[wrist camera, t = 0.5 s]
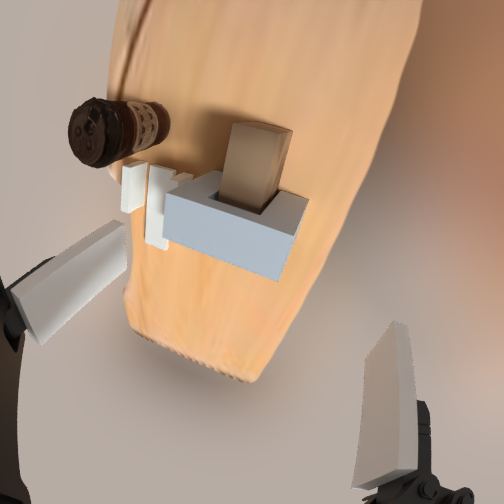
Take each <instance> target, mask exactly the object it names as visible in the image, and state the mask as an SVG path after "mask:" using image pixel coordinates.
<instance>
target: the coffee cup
mask: <svg viewBox="0 0 504 504" xmlns="http://www.w3.org/2000/svg"><path fill="white" fill-rule="evenodd" d="M169 129H170V118H169V115H168V112H167V110H166V109H165V108H164V107H163V106H162V105H161V104H158V103H157V102H152V103H145V104H142V103H138V102H134V101H127V102H125V101H108V100H104V99H96V98H95V97H93V98H91V99H89V100H88V101H86V102H84V103H83V104H82V105H81V106H79V107H78V108H77V109H75V110H74V111H73V113H72V116H71V118H70V122H69V126H68V138H69V144H70V146H71V149H72V151H73V153H74V155H75V156H76V157H77V158H78V159H79V160H80V161H81V162H82V163H83V164H86V165H88V166H91V167H95V168H102V167H106V166H108V165H109V164H111V163H113V162H115V161H118V160H121V159H123V158H125V157H128V156H131V155H133V154H135V153H137V152H139V151H143V150H146V149H148V148H150V147H152V146H154V145H157V144H160V143H161V142H162V141H163V140H164V139H165V138H166V137H167V135H168V133H169Z"/></svg>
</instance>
